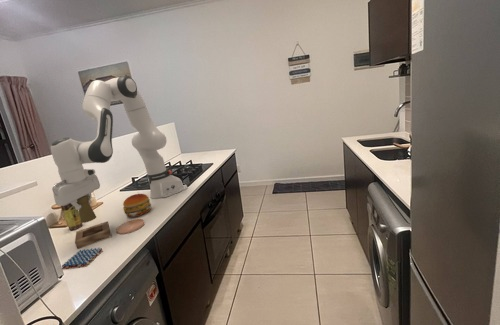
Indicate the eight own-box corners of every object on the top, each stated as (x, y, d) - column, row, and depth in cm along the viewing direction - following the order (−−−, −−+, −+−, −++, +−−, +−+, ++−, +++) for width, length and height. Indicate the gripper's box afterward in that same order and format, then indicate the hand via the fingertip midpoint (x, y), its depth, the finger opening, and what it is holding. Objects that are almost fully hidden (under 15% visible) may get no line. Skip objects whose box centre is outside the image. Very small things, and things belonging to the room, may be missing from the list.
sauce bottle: (79, 228, 129) (66, 191, 124) (66, 231, 128) (52, 194, 124) (85, 223, 135) (73, 187, 131) (73, 225, 135) (60, 190, 130)
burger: (148, 216, 131) (142, 197, 128) (121, 221, 130) (115, 202, 128) (155, 205, 144) (150, 188, 141) (131, 210, 144) (126, 193, 141)
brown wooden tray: (109, 226, 126) (107, 221, 125) (111, 236, 115) (109, 230, 114) (78, 237, 119) (76, 231, 119) (77, 248, 108) (74, 242, 108)
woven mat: (60, 271, 95) (58, 266, 94) (80, 254, 105) (78, 249, 104) (87, 268, 94) (85, 263, 93) (104, 251, 104) (103, 246, 103)
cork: (81, 224, 111) (72, 200, 109) (81, 219, 116) (72, 197, 114) (96, 218, 114) (88, 195, 112) (96, 214, 119) (88, 192, 117)
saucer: (142, 218, 129) (141, 216, 128) (146, 226, 119) (145, 224, 118) (115, 227, 123) (115, 225, 123) (118, 237, 113) (117, 234, 113)
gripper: (57, 184, 100) (69, 217, 103) (97, 168, 119) (106, 196, 122) (44, 186, 101) (57, 218, 105) (86, 169, 120) (95, 197, 124)
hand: (84, 206), depth 114 cm, fingers closed on cork, 4 cm apart
